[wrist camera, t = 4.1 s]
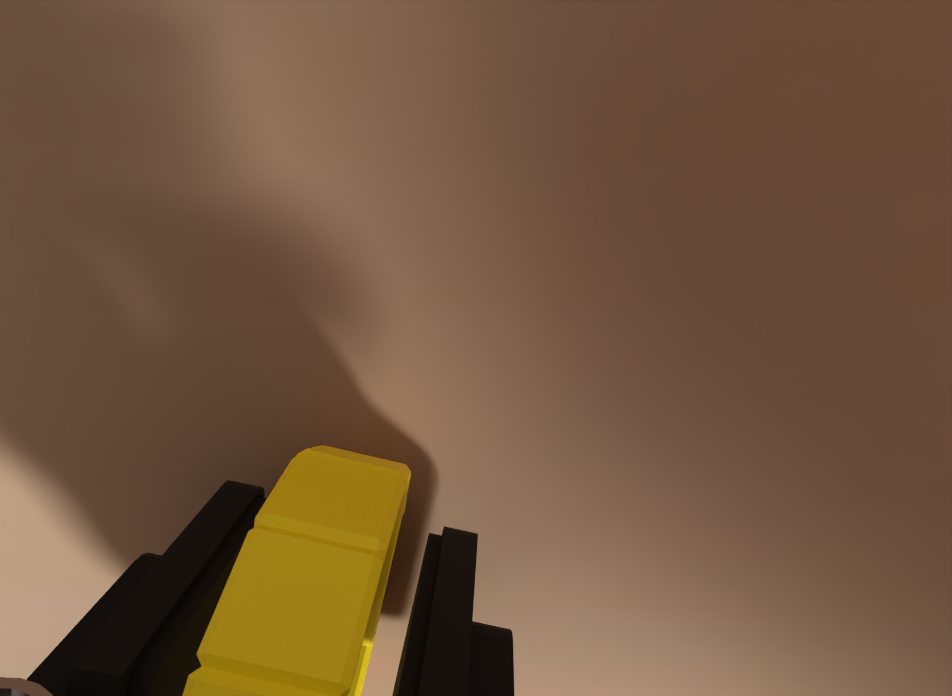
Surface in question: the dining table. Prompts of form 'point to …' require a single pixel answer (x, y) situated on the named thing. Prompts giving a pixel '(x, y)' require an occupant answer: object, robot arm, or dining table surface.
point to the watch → (307, 581)
